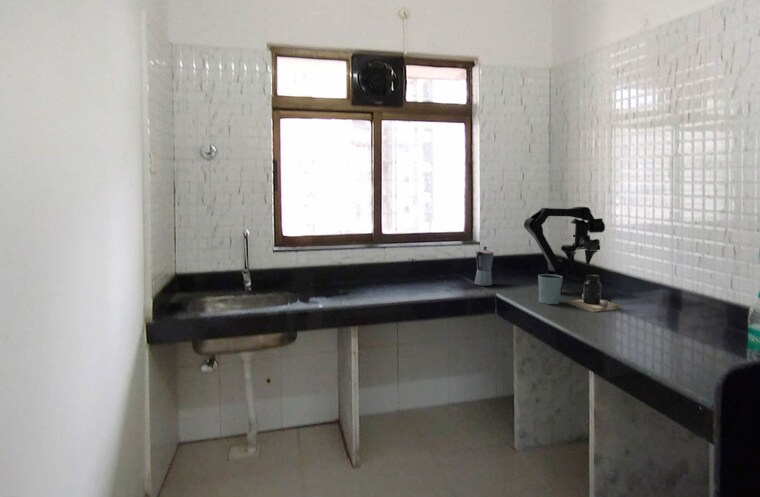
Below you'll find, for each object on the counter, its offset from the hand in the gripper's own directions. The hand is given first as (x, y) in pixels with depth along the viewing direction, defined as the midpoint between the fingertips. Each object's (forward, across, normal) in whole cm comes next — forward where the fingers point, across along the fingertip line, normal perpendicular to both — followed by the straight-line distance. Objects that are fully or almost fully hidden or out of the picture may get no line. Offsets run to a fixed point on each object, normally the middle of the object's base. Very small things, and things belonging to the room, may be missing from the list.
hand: (580, 265), depth 237 cm
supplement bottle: (+12, -15, -25) cm, 32 cm away
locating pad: (+13, -14, -26) cm, 32 cm away
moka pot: (+13, -34, +31) cm, 48 cm away
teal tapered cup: (+13, -27, -13) cm, 33 cm away
